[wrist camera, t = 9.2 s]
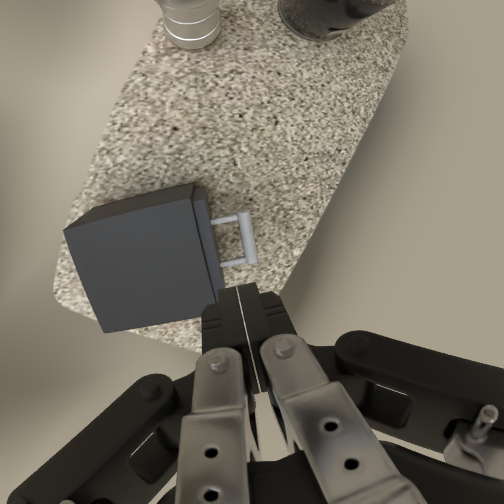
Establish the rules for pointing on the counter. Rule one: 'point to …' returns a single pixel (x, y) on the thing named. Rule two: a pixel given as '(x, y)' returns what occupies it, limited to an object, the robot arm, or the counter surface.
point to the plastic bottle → (191, 22)
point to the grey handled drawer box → (142, 260)
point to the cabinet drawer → (209, 238)
